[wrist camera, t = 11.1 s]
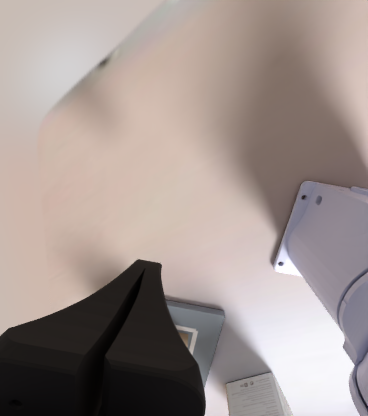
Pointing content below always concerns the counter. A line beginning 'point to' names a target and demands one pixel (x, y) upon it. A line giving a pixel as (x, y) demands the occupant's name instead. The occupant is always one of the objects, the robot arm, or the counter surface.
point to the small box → (257, 397)
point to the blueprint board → (198, 331)
